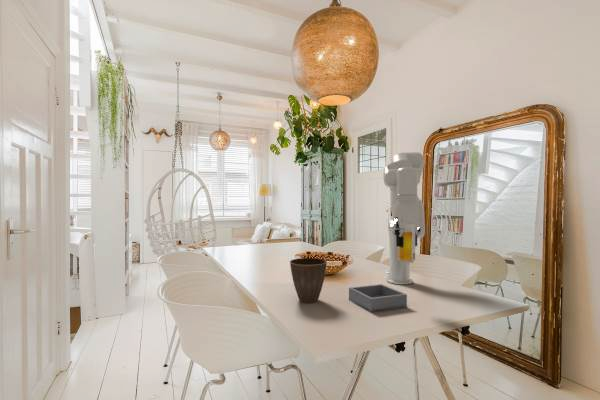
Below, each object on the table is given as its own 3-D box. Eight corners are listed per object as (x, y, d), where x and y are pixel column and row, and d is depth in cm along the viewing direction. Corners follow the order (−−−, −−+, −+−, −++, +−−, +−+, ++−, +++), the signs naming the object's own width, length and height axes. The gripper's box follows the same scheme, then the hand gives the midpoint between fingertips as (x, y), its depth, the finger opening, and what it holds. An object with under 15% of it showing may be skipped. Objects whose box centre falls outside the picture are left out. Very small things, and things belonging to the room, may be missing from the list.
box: (348, 299, 131) (348, 287, 131) (381, 295, 136) (381, 284, 136) (371, 312, 116) (371, 298, 116) (406, 307, 122) (406, 294, 122)
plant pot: (304, 309, 119) (304, 266, 119) (282, 299, 131) (282, 260, 131) (334, 302, 128) (334, 262, 128) (311, 293, 140) (311, 256, 140)
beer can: (401, 259, 128) (402, 222, 128) (417, 261, 124) (417, 222, 124) (396, 261, 123) (396, 222, 123) (412, 263, 119) (412, 223, 119)
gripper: (417, 199, 130) (416, 243, 130) (382, 199, 123) (382, 246, 123) (431, 199, 123) (431, 246, 123) (395, 199, 116) (395, 248, 116)
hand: (406, 245), depth 123 cm, fingers closed on beer can, 6 cm apart
